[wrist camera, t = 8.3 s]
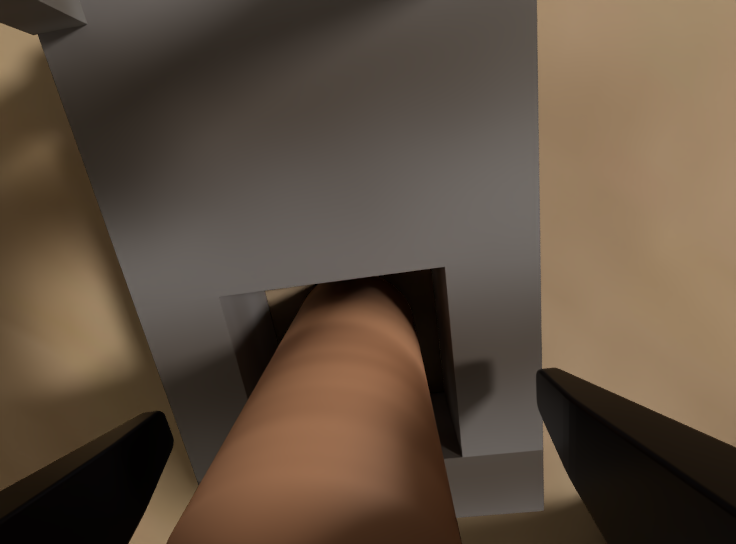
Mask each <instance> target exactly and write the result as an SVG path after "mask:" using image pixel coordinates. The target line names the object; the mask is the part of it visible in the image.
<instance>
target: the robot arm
mask: <svg viewBox="0 0 736 544" xmlns="http://www.w3.org/2000/svg"><path fill="white" fill-rule="evenodd" d="M536 400H537V406H538V410H539V412H540V415H541V417H542V419H543V421H544V423H545V426H546V428H547V430H548V432H549V435H550V437H551V439H552V441H553V443H554V446H555V448H556V450H557V452H558V455H559V457H560V459H561V461H562V463H563V466H564V468H565V470H566V472H567V474H568V476H569V478H570V480H571V482H572V483H573V485H574V487H575V489H576V491H577V492H578V494H579V496H580V497H581V499H582V501H583V503H584V504H585V506H586V508H587V509H588V511H589V513H590V515H591V516H592V518H593V520H594V521H595V523H596V525H597V527H598V528H599V530H600V532H601V534H602V535H603V537H604V539H605V540H606V542H607V544H736V447H734V446H732V445H729V444H727V443H725V442H723V441H720V440H718V439H716V438H714V437H711V436H709V435H707V434H705V433H702V432H700V431H698V430H696V429H693V428H691V427H689V426H687V425H684V424H682V423H680V422H678V421H675V420H673V419H671V418H669V417H666V416H664V415H662V414H660V413H657V412H655V411H653V410H651V409H648V408H646V407H644V406H642V405H639V404H637V403H635V402H633V401H630V400H628V399H626V398H624V397H621V396H619V395H617V394H615V393H612V392H610V391H608V390H606V389H603V388H601V387H599V386H597V385H594V384H592V383H590V382H588V381H585V380H583V379H581V378H579V377H576V376H574V375H572V374H570V373H567V372H565V371H563V370H561V369H558V368H546V369H539V370H538V371H537V373H536ZM173 442H174V440H173V436H172V433H171V430H170V427H169V425H168V422H167V419H166V416H165V414H164V413H163V412H161V411H153V412H145V413H142V414H140V415H138V416H137V417H135V418H133V419H131V420H129V421H127V422H126V423H124V424H122V425H120V426H118V427H117V428H115V429H113V430H111V431H109V432H107V433H106V434H104V435H102V436H100V437H98V438H97V439H95V440H93V441H91V442H89V443H87V444H86V445H84V446H82V447H80V448H78V449H76V450H75V451H73V452H71V453H69V454H67V455H66V456H64V457H62V458H60V459H58V460H56V461H55V462H53V463H51V464H49V465H47V466H46V467H44V468H42V469H40V470H38V471H36V472H35V473H33V474H31V475H29V476H27V477H25V478H24V479H22V480H20V481H18V482H16V483H15V484H13V485H11V486H9V487H7V488H5V489H4V490H2V491H0V544H128V543H129V542H130V540H131V538H132V536H133V534H134V532H135V530H136V528H137V527H138V525H139V523H140V521H141V519H142V517H143V515H144V513H145V511H146V508H147V506H148V504H149V502H150V500H151V497H152V495H153V493H154V490H155V488H156V486H157V483H158V481H159V479H160V476H161V474H162V472H163V469H164V467H165V465H166V462H167V460H168V458H169V455H170V453H171V451H172V448H173Z"/></svg>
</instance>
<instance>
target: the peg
mask: <svg viewBox="0 0 736 544" xmlns="http://www.w3.org/2000/svg"><path fill="white" fill-rule="evenodd" d="M167 544H462V542H461V537H460V533H459V528H458V523H457V519H456V514H455V509H454V505H453V500H452V495H451V491H450V486H449V481H448V477H447V472H446V467H445V463H444V458H443V453H442V449H441V444H440V439H439V435H438V430H437V425H436V421H435V416H434V411H433V407H432V402H431V397H430V393H429V388H428V383H427V379H426V374H425V369H424V365H423V360H422V355H421V351H420V346H419V341H418V337H417V332H416V327H415V323H414V318H413V314H412V311H411V308H410V306H409V304H408V302H407V300H406V299H405V297H404V296H403V294H402V293H401V292H400V291H399V290H398V289H397V288H396V287H395V286H393V285H392V284H391V283H389V282H388V281H386V280H384V279H382V278H380V277H378V276H371V277H364V278H356V279H349V280H341V281H333V282H326V283H320V284H318V285H317V286H316V287H315V288H314V289H313V290H312V291H311V292H310V293H309V294H308V296H307V298H306V299H305V301H304V302H303V304H302V306H301V308H300V309H299V311H298V313H297V315H296V316H295V318H294V320H293V322H292V323H291V325H290V327H289V329H288V330H287V332H286V334H285V336H284V337H283V339H282V341H281V343H280V344H279V346H278V348H277V350H276V351H275V353H274V355H273V357H272V358H271V360H270V362H269V364H268V365H267V367H266V369H265V371H264V372H263V374H262V376H261V378H260V379H259V381H258V383H257V385H256V386H255V388H254V390H253V392H252V393H251V395H250V397H249V399H248V400H247V402H246V404H245V406H244V407H243V409H242V411H241V413H240V414H239V416H238V418H237V420H236V421H235V423H234V425H233V427H232V428H231V430H230V432H229V434H228V435H227V437H226V439H225V441H224V442H223V444H222V446H221V448H220V449H219V451H218V453H217V455H216V456H215V458H214V460H213V462H212V463H211V465H210V467H209V469H208V470H207V472H206V474H205V476H204V477H203V479H202V481H201V483H200V484H199V486H198V488H197V490H196V491H195V493H194V495H193V497H192V498H191V500H190V502H189V504H188V505H187V507H186V509H185V511H184V512H183V514H182V516H181V518H180V519H179V521H178V523H177V525H176V526H175V528H174V530H173V532H172V533H171V535H170V537H169V539H168V541H167Z"/></svg>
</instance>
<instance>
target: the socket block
mask: <svg viewBox="0 0 736 544" xmlns="http://www.w3.org/2000/svg"><path fill="white" fill-rule="evenodd" d="M0 23H3V24H5V25H8V26H11V27H13V28H16V29H18V30H21V31H24V32H26V33H29V34H32V35H36V34H38V37H39V39H40V42H41V45H42V48H43V51H44V53H45V56H46V59H47V62H48V65H49V67H50V70H51V73H52V76H53V79H54V81H55V84H56V87H57V90H58V93H59V95H60V98H61V101H62V104H63V107H64V109H65V112H66V115H67V118H68V121H69V123H70V126H71V129H72V132H73V135H74V137H75V140H76V143H77V146H78V149H79V151H80V154H81V157H82V160H83V163H84V165H85V168H86V171H87V174H88V177H89V179H90V182H91V185H92V188H93V191H94V193H95V196H96V199H97V202H98V205H99V207H100V210H101V213H102V216H103V219H104V221H105V224H106V227H107V230H108V233H109V235H110V238H111V241H112V244H113V247H114V249H115V252H116V255H117V258H118V261H119V263H120V266H121V269H122V272H123V275H124V277H125V280H126V283H127V286H128V289H129V291H130V294H131V297H132V300H133V303H134V305H135V308H136V311H137V314H138V317H139V319H140V322H141V325H142V328H143V331H144V333H145V336H146V339H147V342H148V345H149V347H150V350H151V353H152V356H153V359H154V361H155V364H156V367H157V370H158V373H159V375H160V378H161V381H162V384H163V387H164V389H165V392H166V395H167V398H168V401H169V403H170V406H171V409H172V412H173V415H174V417H175V420H176V423H177V426H178V429H179V431H180V434H181V437H182V440H183V443H184V445H185V448H186V451H187V454H188V457H189V459H190V462H191V465H192V468H193V471H194V473H195V476H196V479H197V482H198V485H199V484H200V483H201V481H202V479H203V477H204V476H205V474H206V472H207V470H208V469H209V467H210V465H211V463H212V462H213V460H214V458H215V456H216V455H217V453H218V451H219V449H220V448H221V446H222V444H223V442H224V441H225V439H226V437H227V435H228V434H229V432H230V430H231V428H232V427H233V425H234V423H235V421H236V420H237V418H238V416H239V414H240V413H241V411H242V409H243V407H244V406H245V404H246V402H247V400H248V399H249V397H250V395H251V393H252V392H253V390H254V388H255V386H256V385H257V383H258V381H259V379H260V378H261V376H262V374H263V372H264V371H265V369H266V367H267V365H268V364H269V362H270V360H271V358H272V357H273V355H274V353H275V351H276V350H277V348H278V343H277V339H276V334H275V330H274V326H273V322H272V318H271V314H270V310H269V306H268V302H267V298H266V293H265V291H266V290H273V289H281V288H288V287H296V286H303V285H311V284H318V283H326V282H333V281H341V280H349V279H356V278H364V277H371V276H379V275H386V274H394V273H401V272H409V271H416V270H424V269H431V270H432V279H433V289H434V298H435V308H436V318H437V327H438V337H439V347H440V356H441V366H442V376H443V385H444V392H440V393H431V394H430V397H431V402H432V407H433V411H434V416H435V421H436V425H437V430H438V435H439V439H440V444H441V449H442V453H443V458H444V463H445V467H446V472H447V477H448V481H449V486H450V491H451V495H452V500H453V505H454V509H455V514H456V518H460V517H472V516H485V515H497V514H510V513H522V512H535V511H544V480H543V419H542V417H541V415H540V412H539V410H538V406H537V400H536V373H537V371H538V370H539V369H542V339H541V269H540V199H539V129H538V59H537V0H0Z"/></svg>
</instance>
